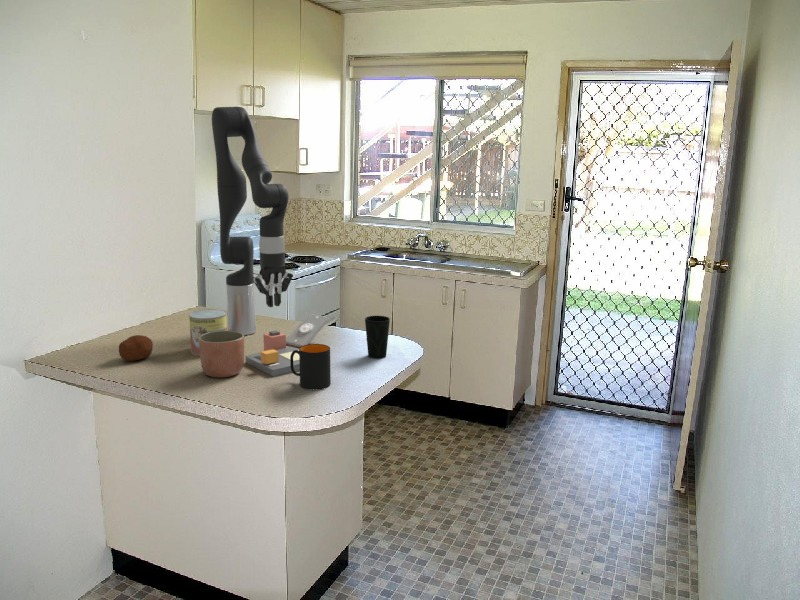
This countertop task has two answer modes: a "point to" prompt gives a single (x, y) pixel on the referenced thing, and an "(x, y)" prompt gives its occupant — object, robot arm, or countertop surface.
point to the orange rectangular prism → (269, 356)
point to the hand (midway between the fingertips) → (273, 306)
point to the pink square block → (274, 340)
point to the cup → (377, 336)
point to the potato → (135, 348)
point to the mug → (313, 366)
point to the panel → (276, 367)
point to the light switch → (307, 330)
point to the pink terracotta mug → (221, 353)
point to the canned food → (205, 325)
